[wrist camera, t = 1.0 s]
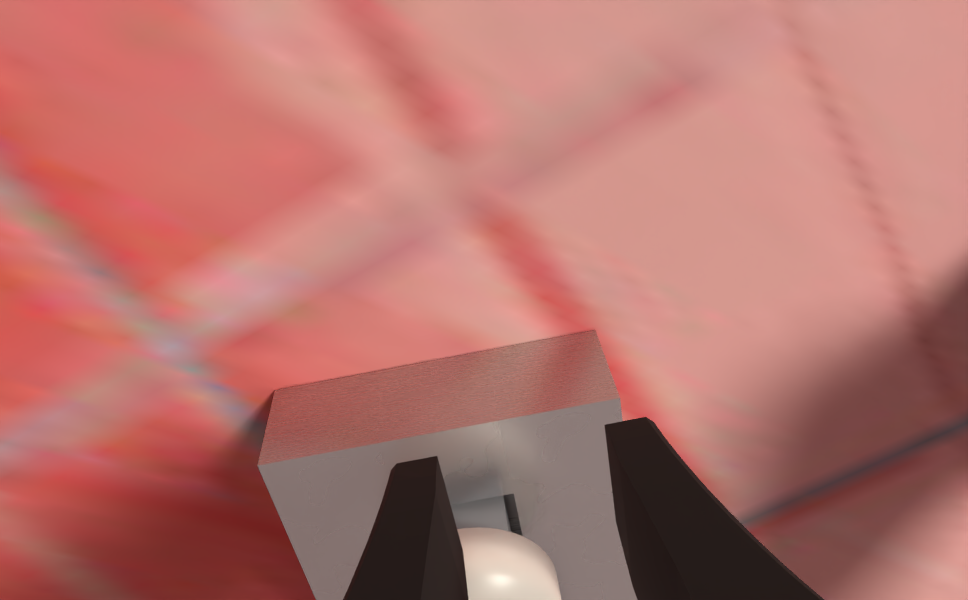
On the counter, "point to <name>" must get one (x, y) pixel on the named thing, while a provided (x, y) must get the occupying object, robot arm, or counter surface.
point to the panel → (456, 456)
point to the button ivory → (501, 555)
